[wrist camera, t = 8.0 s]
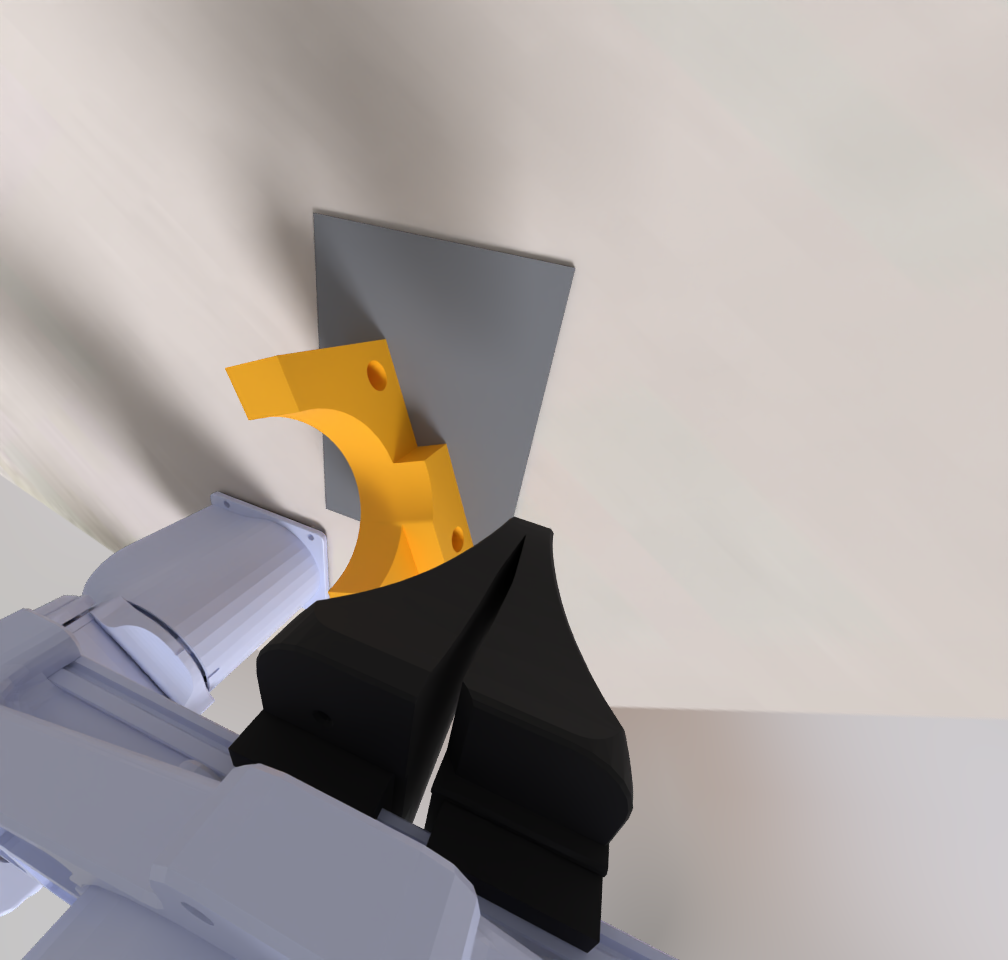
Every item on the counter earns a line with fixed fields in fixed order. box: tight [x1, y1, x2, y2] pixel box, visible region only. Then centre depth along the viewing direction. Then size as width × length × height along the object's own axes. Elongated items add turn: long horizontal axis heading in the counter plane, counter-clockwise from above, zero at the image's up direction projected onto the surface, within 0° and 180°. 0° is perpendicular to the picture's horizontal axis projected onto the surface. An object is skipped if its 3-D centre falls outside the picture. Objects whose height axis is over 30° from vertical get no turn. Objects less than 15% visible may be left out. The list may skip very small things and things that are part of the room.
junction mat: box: [313, 213, 575, 546], centre depth 19 cm, size 12×16×1 cm
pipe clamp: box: [225, 339, 473, 598], centre depth 18 cm, size 12×4×6 cm, turn 11°
